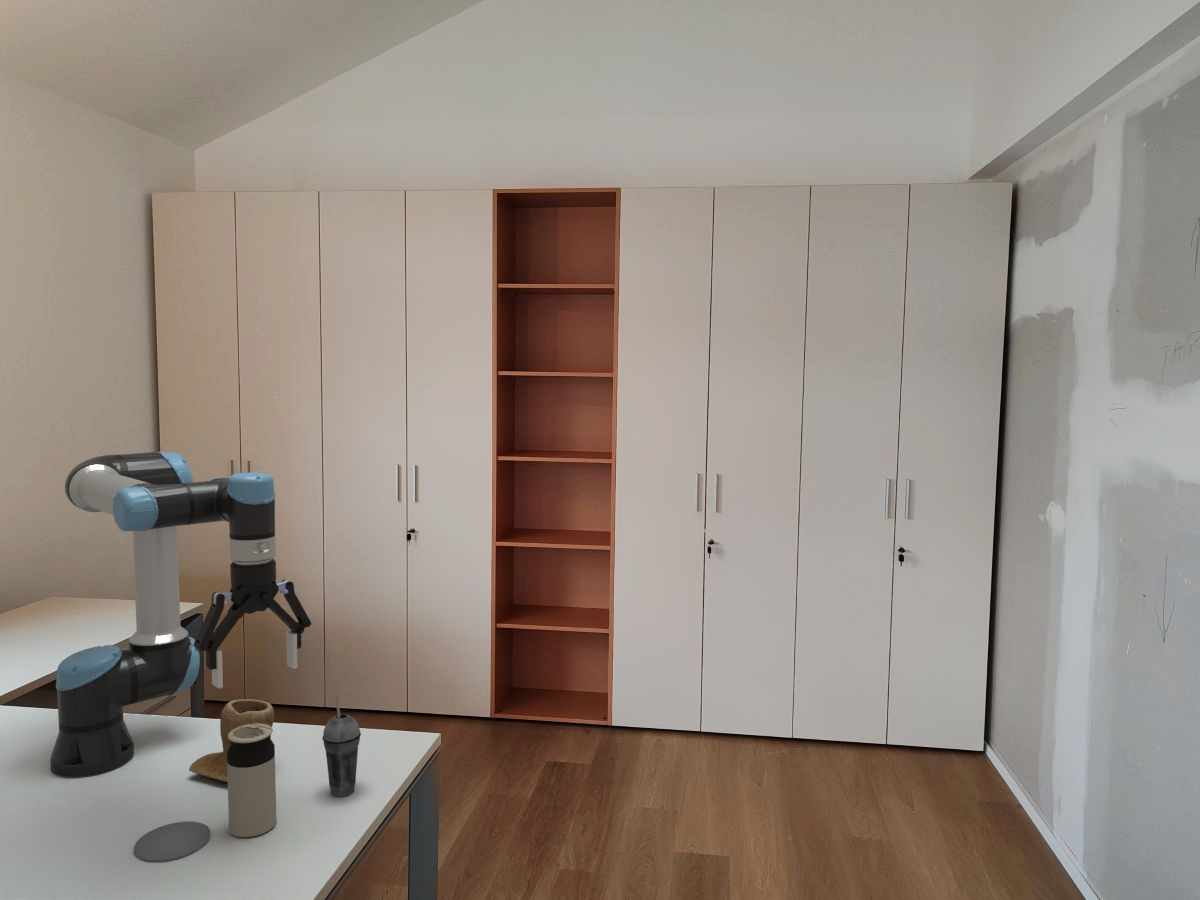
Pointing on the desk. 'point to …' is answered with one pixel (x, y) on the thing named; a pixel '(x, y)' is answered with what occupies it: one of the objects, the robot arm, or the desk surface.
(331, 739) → the beverage cup
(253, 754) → the travel mug
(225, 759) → the stone cup
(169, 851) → the mat
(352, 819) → the desk surface
